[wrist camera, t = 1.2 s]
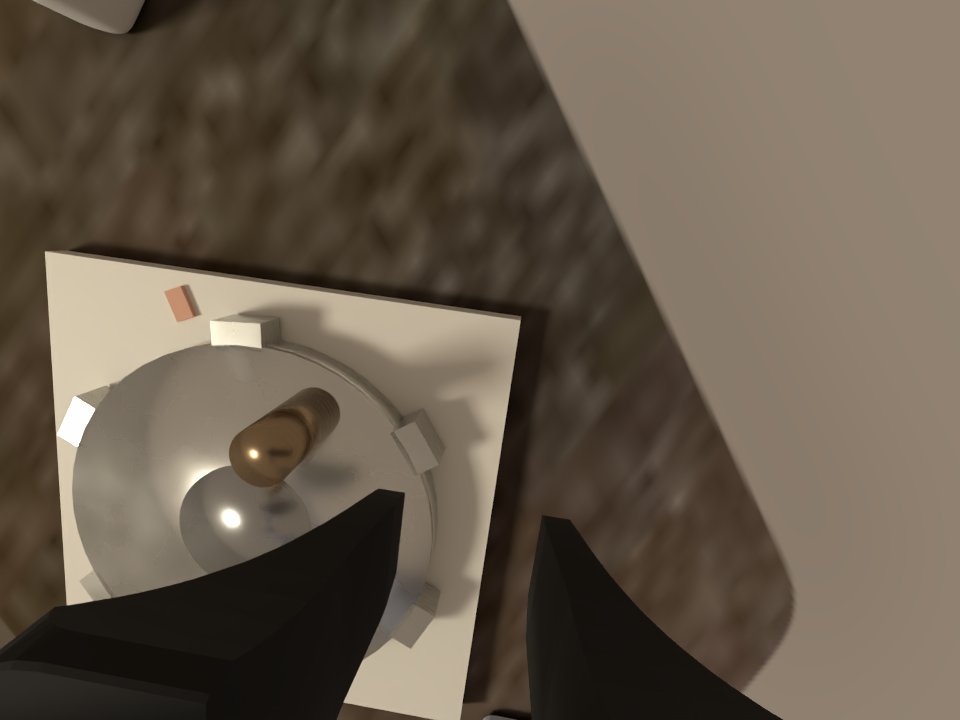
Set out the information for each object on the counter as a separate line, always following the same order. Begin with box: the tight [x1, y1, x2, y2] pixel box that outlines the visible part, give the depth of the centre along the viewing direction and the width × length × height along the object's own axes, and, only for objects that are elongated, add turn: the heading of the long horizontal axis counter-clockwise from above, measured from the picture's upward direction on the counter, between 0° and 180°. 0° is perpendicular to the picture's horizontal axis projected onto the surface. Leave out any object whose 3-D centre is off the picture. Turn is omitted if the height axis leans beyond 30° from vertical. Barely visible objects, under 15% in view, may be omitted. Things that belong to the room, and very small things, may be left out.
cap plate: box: [45, 251, 521, 720], centre depth 22 cm, size 18×18×1 cm
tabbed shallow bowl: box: [58, 314, 445, 660], centre depth 19 cm, size 14×16×6 cm
